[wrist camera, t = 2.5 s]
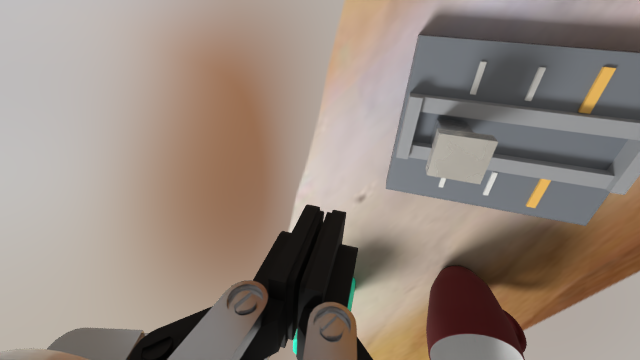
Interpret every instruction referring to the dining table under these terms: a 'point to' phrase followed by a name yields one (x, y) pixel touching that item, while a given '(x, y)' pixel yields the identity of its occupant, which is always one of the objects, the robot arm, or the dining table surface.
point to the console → (524, 124)
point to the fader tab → (459, 152)
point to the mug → (469, 320)
